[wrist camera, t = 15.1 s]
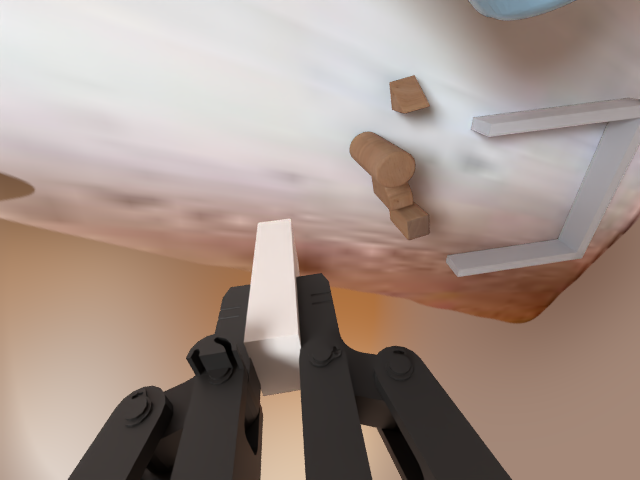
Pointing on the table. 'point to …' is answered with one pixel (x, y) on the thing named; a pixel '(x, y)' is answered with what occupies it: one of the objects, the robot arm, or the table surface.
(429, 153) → the table surface
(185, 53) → the table surface
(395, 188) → the wooden block set
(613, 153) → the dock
